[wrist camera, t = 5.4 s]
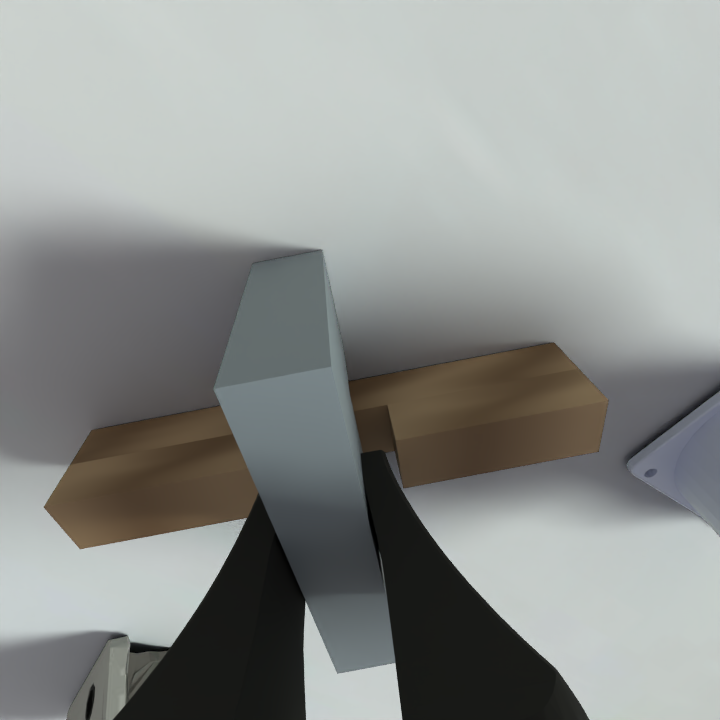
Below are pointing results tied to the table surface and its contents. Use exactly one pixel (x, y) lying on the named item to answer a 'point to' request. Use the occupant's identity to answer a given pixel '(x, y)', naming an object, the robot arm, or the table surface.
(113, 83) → the table surface
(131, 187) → the table surface
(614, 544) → the table surface
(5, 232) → the table surface
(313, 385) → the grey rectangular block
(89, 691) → the electrical switch
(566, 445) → the notched walnut bar
